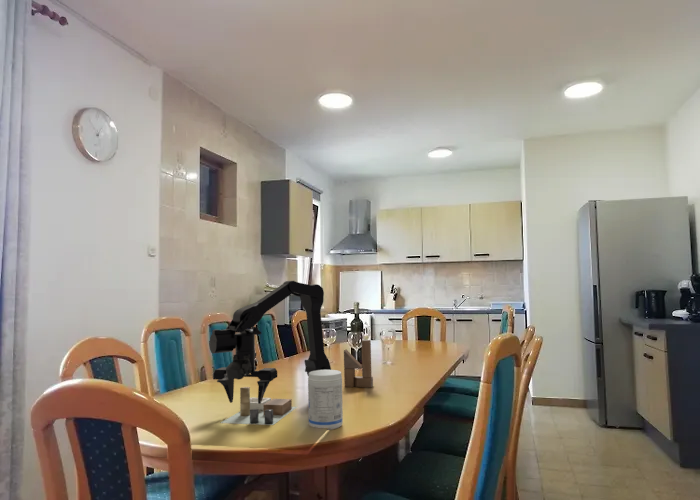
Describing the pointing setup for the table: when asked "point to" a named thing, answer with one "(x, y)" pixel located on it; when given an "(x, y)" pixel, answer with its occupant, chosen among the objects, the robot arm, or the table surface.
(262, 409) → the tray
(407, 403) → the table surface
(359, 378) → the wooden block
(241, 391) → the dowel
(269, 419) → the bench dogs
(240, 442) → the table surface
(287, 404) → the cardboard brown brick
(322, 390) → the supplement tub
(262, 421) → the mat
